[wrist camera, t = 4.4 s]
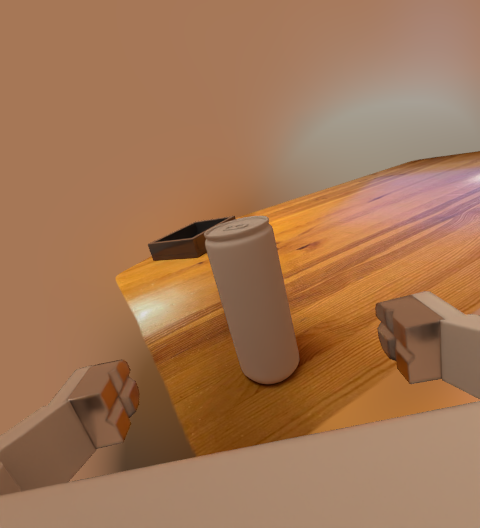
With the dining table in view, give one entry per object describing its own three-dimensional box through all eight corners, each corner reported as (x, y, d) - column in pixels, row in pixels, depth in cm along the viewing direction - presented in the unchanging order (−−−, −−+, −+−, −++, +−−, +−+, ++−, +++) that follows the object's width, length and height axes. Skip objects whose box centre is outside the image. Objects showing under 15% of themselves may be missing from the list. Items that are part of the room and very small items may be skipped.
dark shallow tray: (198, 257, 61) (192, 239, 60) (153, 260, 67) (147, 244, 66) (238, 231, 75) (234, 215, 74) (198, 235, 82) (194, 221, 81)
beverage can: (298, 389, 21) (262, 228, 17) (235, 388, 23) (190, 241, 19) (303, 347, 25) (275, 211, 22) (250, 348, 27) (215, 222, 23)
